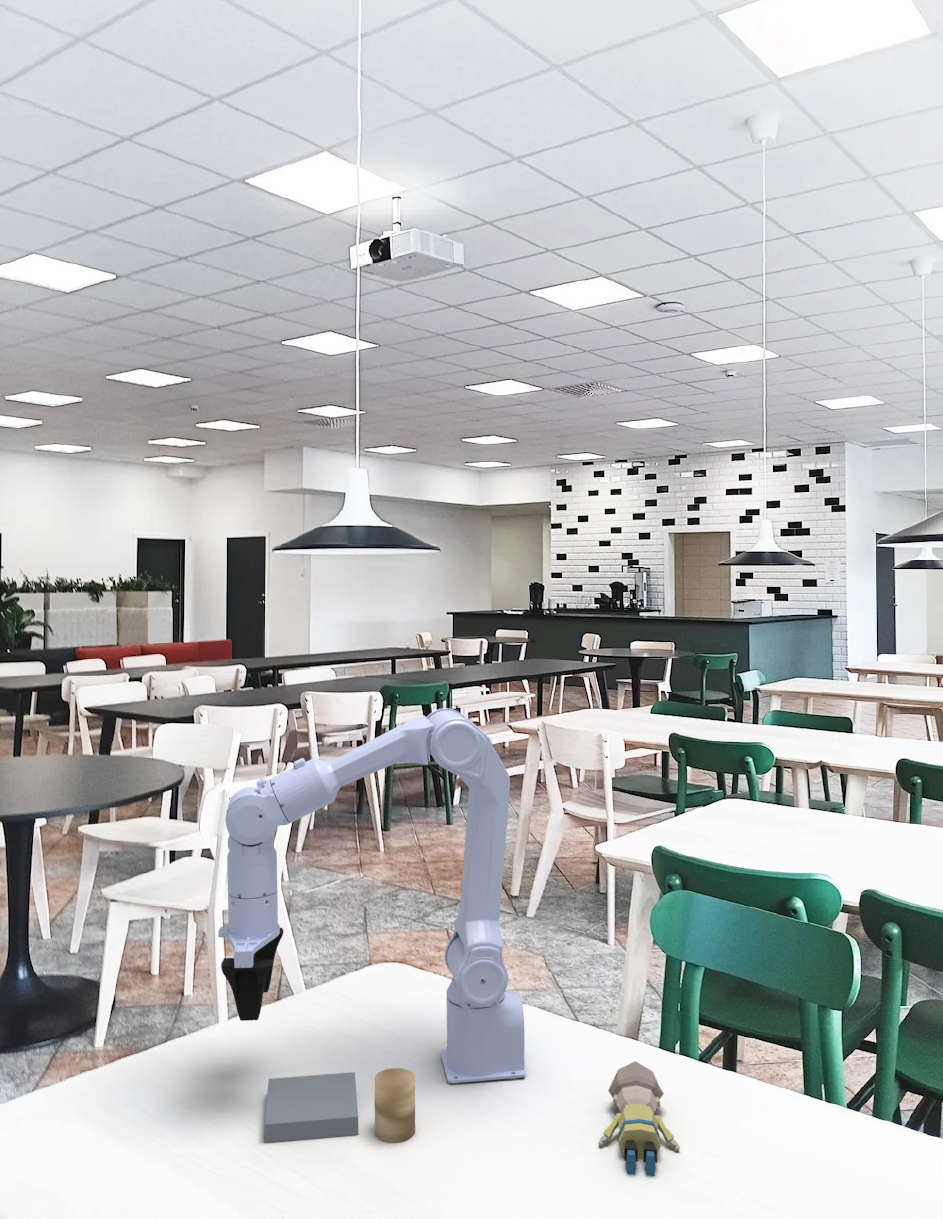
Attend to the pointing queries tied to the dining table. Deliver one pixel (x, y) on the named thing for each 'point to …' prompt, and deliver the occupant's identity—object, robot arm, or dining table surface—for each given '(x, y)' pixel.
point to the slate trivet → (311, 1107)
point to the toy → (637, 1117)
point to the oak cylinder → (394, 1105)
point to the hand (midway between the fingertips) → (254, 1004)
